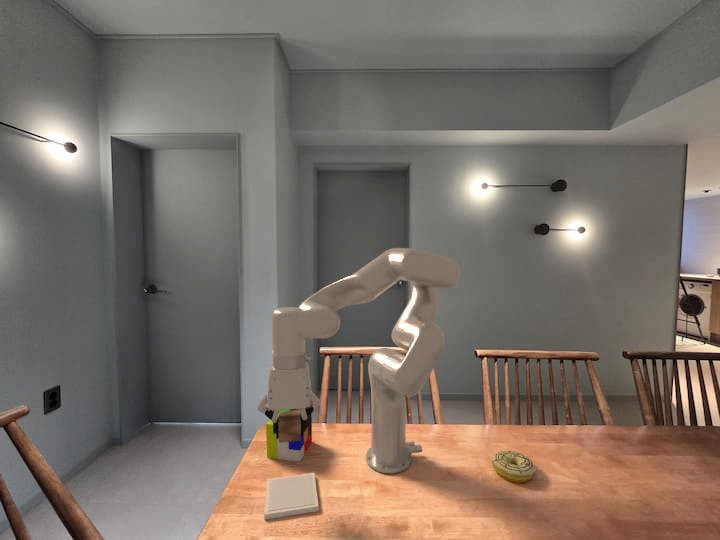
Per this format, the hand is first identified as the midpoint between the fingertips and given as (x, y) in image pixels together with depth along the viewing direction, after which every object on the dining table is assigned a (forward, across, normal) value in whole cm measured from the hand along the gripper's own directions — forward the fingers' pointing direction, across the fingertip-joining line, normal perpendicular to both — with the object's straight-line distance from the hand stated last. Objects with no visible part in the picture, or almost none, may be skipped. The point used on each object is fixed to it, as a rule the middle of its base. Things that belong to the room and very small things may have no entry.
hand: (289, 434), depth 85 cm
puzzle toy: (+16, 0, -20) cm, 25 cm away
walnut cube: (+1, 0, 0) cm, 1 cm away
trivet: (+16, 0, 0) cm, 16 cm away
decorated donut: (+16, -58, +3) cm, 61 cm away
